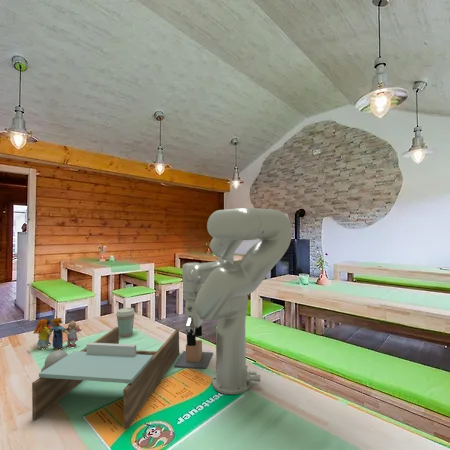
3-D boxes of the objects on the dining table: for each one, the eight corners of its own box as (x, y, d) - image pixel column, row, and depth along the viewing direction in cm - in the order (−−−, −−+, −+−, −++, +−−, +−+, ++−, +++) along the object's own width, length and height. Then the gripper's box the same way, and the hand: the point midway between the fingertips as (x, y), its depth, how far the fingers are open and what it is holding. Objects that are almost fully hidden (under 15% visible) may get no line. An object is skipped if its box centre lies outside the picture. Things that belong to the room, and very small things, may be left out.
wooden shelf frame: (179, 353, 111) (178, 329, 111) (127, 428, 69) (127, 389, 69) (116, 350, 115) (116, 326, 115) (32, 419, 73) (32, 382, 73)
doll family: (83, 345, 121) (82, 315, 121) (67, 355, 111) (66, 322, 112) (41, 342, 124) (41, 313, 125) (22, 351, 115) (22, 320, 115)
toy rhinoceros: (62, 392, 90) (69, 369, 89) (35, 374, 93) (42, 352, 92) (79, 380, 97) (86, 359, 96) (54, 363, 100) (60, 343, 99)
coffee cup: (131, 338, 127) (131, 312, 127) (113, 338, 127) (112, 312, 127) (137, 331, 135) (137, 307, 136) (120, 331, 136) (120, 307, 136)
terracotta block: (189, 355, 108) (189, 339, 108) (202, 355, 107) (201, 340, 107) (186, 361, 103) (185, 345, 103) (199, 362, 102) (198, 345, 102)
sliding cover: (153, 358, 86) (152, 345, 86) (131, 383, 72) (131, 368, 72) (74, 354, 89) (73, 341, 89) (38, 377, 76) (38, 362, 76)
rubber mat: (212, 353, 110) (212, 352, 110) (206, 369, 98) (206, 367, 98) (183, 352, 112) (183, 351, 112) (173, 367, 100) (173, 365, 100)
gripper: (197, 300, 97) (199, 349, 96) (207, 290, 114) (209, 332, 113) (176, 300, 98) (178, 349, 97) (189, 290, 115) (191, 332, 114)
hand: (194, 340), depth 105 cm, fingers open, 9 cm apart
